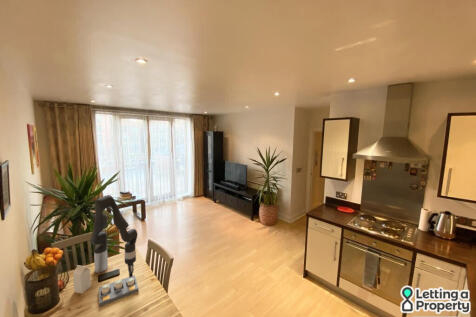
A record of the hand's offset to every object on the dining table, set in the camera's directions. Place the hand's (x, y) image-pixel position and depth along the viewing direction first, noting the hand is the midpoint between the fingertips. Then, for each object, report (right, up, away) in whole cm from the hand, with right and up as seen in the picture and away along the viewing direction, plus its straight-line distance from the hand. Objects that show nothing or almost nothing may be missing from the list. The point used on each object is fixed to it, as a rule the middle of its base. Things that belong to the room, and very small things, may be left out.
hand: (130, 276), depth 151 cm
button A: (-13, -5, -9) cm, 17 cm away
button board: (-7, -9, -4) cm, 12 cm away
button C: (0, -7, 0) cm, 7 cm away
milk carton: (-34, -8, -3) cm, 36 cm away
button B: (-7, -5, -5) cm, 10 cm away
